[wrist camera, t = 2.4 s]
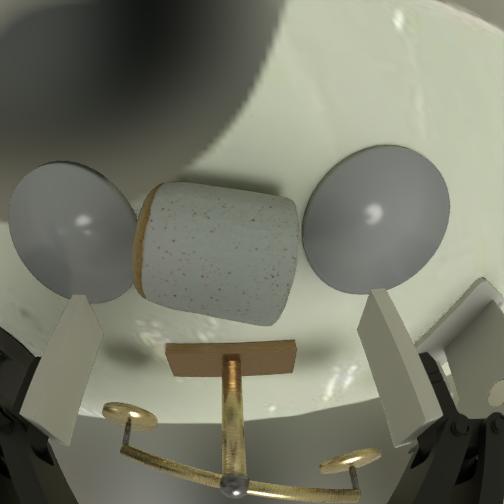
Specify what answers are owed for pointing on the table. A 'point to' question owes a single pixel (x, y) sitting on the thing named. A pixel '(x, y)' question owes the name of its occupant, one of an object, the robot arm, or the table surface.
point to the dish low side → (74, 231)
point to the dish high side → (375, 219)
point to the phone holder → (470, 347)
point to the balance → (234, 421)
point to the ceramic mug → (216, 251)
